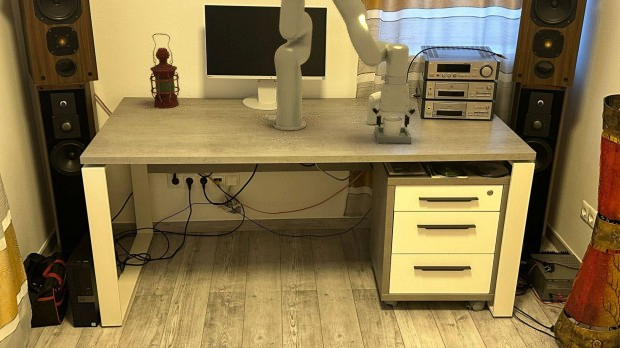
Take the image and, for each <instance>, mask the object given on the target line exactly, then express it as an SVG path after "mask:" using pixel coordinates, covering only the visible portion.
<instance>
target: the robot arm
mask: <svg viewBox="0 0 620 348" xmlns="http://www.w3.org/2000/svg"><path fill="white" fill-rule="evenodd" d="M331 1H332V3H333V4H334V6H335V8H336V10H337V11H338V12H339V14H340V16H341V18H342V20H343V22H344V23H345V27H346V30H347V33H348V37H349V39H350V42H351V44H352V47H353V49H354V51H355V52H356V54H357V55H358V58H359V59H360V61H361V62H362V64H364V65H365V66H367V67H371V68H374V67H377V66H379V65H380V64H381V63H385V73H384V75H381V76H380V80H381V81H383V82H382V86H381V90H380V91H381V95H380V98H379V99H377V100H375V101H373V102H371V103H370V106H371V108H372V110H373V112H374V113H375V114H376V115H377V119H376V124H375V125H377V127H382V125H381V124H382V123H381V114H382V113H383V112H391V113H404V114H405V115H404V122H403V123H404V124H403V127H407V128H408V126H409V125H410V118H411V116H412V115H413V114H415V112H416V110H417V109H418V108H419V104H418V103H417V102H415V101H413V100H412V99H410V87H409V84H408V83H407V79H408V77H407V76H408V68H409V67H408V66H409V56H410V55H409V54H410V53H409V52H410V48H409V46H408V45H407V44H405V43H390V42H387V41H382V40H375V39H374V37H373V36H372V35H371V32H370V28H369V25H368V11H367V8H366V7H365V5H364V3H363V2H362V0H331ZM305 7H306V0H280V10H279V11H280V12H279V24H278V25H279V33H280V35H281V36H282V38H283V39H284V40H287V42H286V43H284V44H282V45H280V46H279V47H278V48H277V49H276V51H275V53H274V66H275V72H276V74H275V75H276V76H275V77H276V113H275V114H265V115H264V116H265V121H268V122H273V123H272V126H273V128H275V129H277V130H282V131H299V130H302V129H304V128H305V127H306V126H307V123H306V121H305V120H303V75H302V70H301V65H303V64H305V63H306V62H307V61H308V59H309V58H310V56H311V55H310V54H311V51H312V50H311V49H312V36H313V22H312V21H313V20H312V18H311V16H310V15H309V13H308V12H306V11H305ZM378 103H380V108H379V109H378V110H377V109H376V108H375V105H376V104H378ZM410 105H411V106H412V107H411V109H409V108H410Z"/></svg>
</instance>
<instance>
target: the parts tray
mask: <svg viewBox="0 0 620 348" xmlns="http://www.w3.org/2000/svg"><path fill="white" fill-rule="evenodd" d="M374 136H375V139H376V143H377V145H384V144H385V145H412V138H413V137H412V135H411V133H410V130H409V129H408V126H407V127H405V126H401V129H400V136H384V131H383V126H381V127H378V126H374Z"/></svg>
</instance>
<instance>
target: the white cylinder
mask: <svg viewBox="0 0 620 348" xmlns="http://www.w3.org/2000/svg"><path fill="white" fill-rule="evenodd" d="M402 123H403V118H402V117H401V116H395V115H391V116H386V117H384V118H383V123H382V124H383V125H382V127H383V131H384V136H400V129H401V127H402Z"/></svg>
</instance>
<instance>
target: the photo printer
mask: <svg viewBox="0 0 620 348" xmlns="http://www.w3.org/2000/svg"><path fill="white" fill-rule="evenodd" d="M380 95H381V90H380V91H377V92H376V91H375V92H373V93H372V94H370V95H369V96H368V100H367V113H366V114H367V115H366V123H367V124H368V125H370V126H371V125H377V124H376V119H377V115H376V114H375V113H374V112H373V110H372V108H371V106H370V103H371V102H373V101H375V100H377V99H379V98H380ZM375 108H376V109H377V110H378V109H379V108H380V103H378V104H376V105H375ZM386 116H392V112H383V113H382V114H381V124H383V118H384V117H386Z"/></svg>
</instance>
